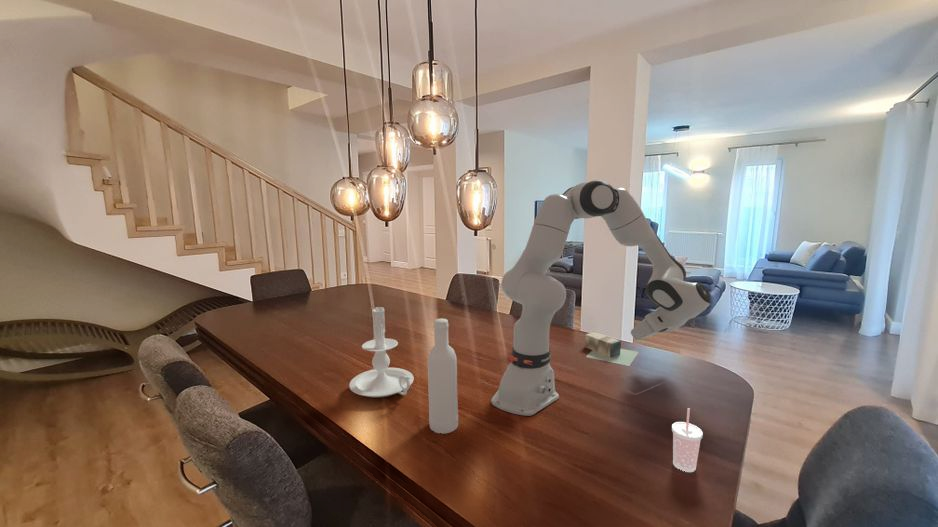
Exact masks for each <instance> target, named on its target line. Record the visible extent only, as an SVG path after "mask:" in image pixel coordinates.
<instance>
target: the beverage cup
mask: <svg viewBox="0 0 938 527" xmlns="http://www.w3.org/2000/svg"><path fill="white" fill-rule="evenodd" d="M690 413H691V408H689V407H688V408H687V412H686V422H685V421H675V422H674V423H672V424H671V431H672V465H673V466H674V467H675V468H676V469H678V470H679V469H680V471H681V470H682V472H684V471H685V473H693V472H695V471H696V468H697V464H698V459H699V451H700V448H701V447H700V446H701V440H702V439H703V436H704V435H703V434H704V433H703V431H702V429H701V428H700V427H698V426H697V425H695V424H692V423H690Z"/></svg>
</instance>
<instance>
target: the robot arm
mask: <svg viewBox="0 0 938 527" xmlns="http://www.w3.org/2000/svg"><path fill="white" fill-rule="evenodd" d="M596 217H601V218H602V219H603V220H604V221H605V223H606V225H607V227H608V229H609V231H610V232H611V234H612V236H613V237H614V239H615V240H616V241H617V242H618V243H619V244H620V245H621V246H625V247H636V246H637V247H639V248H640V249H642V251H643V252H644V254H645V255H646V257H647V258H648V260H649V261H650V263H651V265H652V273H651V276H650V278H649V280H648V281H647V282H648V283H647V284H646V287H645V294H646V296H647V297H648V299H649V300H650V301H651V302H653V303H654V304H655V305H657V306H659V307H657V308H656V309H654V311H651V312H650V313H648V314H646V315H645V316H644V319H643V320H641V321H640V322H639V323H638V324H636V325H635V326H634V327H633V328H632V329H631V330H630V334H631V336H632V337H633V340H635V341H641V340H644V339H646V338H648V337H651V336H654V335H657V334H659V333H660V334H661V333H663V332H670V333H673V332H675V331H676V330H678V329H679V328H681V327H683V326H684V325H685V324H686V323H687V322H688V321H689V320H692V319H694V318H696V317H697V316H699V315H700V314H701V313H703V312H704V311H705V310H706V309H707V308H708V307H709V306H710V305H711V303H712V296H711V294H710V291H709V290H708V289H707V287H706V286H705V285H704V284H702V283H701V282H690V281H686V277H687V272H686V268H685V267H684V266H683V265H682V264H681V263H680V262H679V261H678V260H676V259H675V258H674V257H673V256H672V255H671V254H670V253H669V251H668V250H667V247H666V246H665V245H664V243H663V241H662V240H661V239H660V238H659V236H658V235H657V233H656V231H655V230H654V229H653V228H652V226H651V225H650V223H649V221H648V220H647V218H646V215H645V214H644V212H643V211H642V209H641V207H640V205H639V204H638V202H637V201H636V200H635V198H634V197H633V196H632V195H631V193H630V192H629V191H628V190H627V189H625V188H624V187H613V186H612V185H611V184H610V183H608V182H606V181H604V180H591V181H588V182H581V183H579V184H576V185H574V186H572V187H569V188H568V189H566V191H564V192H563V193H562V194H559V193H557V194H555V193H554V194H550V195H548V196H546V197H545V198H544V200H543V201H542V204H541V206H540V208H539V209H538V212H537V214H536V217H535V219H534V222H533V225H532V228H531V231H530V234H529V237H528V240H527V243H526V246H525V248H524V249H523V252H522V254H521V255H520V257H519V258H518V259H517V262H516V263H515V264H514V266H513V267H512V268H510V270H508V271H506V272H505V274H504V275H503V276H502V279H501V284H500V285H501V286H500V287H501V289H502V292H503V294H505V296H507V297H508V298H509V299H510V300H511V301H513V302H516V303H518V304H521V307H522V311H521V315H520V318H519V319H518V320H516V321H515V323H514V325H513V347H512V349H511V353H510V354H507V356H506V361H507V362H509V365H507V368H506V370H505V372H504V374H503V376H502V378H501V380H500V382H499V387H498V390H497V391H496V393H495V394H494V395H493V396H492V397H491V399H490V400H491V401H490V403H491V404H492V406H494V407H496V408H497V409H500V410H502V411H505V412H507V413H510V414H514V415H518V416H519V415H520V416H527V417H528V416H530V417H531V416H533V415H535V414H536V413H538V412H539V411H541V410H543V409H544V408H546V407H548V406H550V405H551V404H552V403H554V402H555V401H557V400H559V398H560V395H559V393H558V392H557V391H556V386H555V372H554V370H553V368H552V366H551V364H550V362H551V349H550V329H551V323H552V320H553V318H554V315H555V314H556V313H557V312H558V311H560V309H562V308H563V306H564V304H565V302H566V298H567V291H566V288H565V287H566V286H565V285H564V284H563V283H562V282H561V281H559V280H558V279H556V278H554V277H553V276H551V275H548V274H546V273H547V272H548V270H549V269H550V268H551V267H552V265H553V264H555V263H557V262H558V261H559V260H560V259H561V258H562V254H563V252H564V248H565V245H566V242H567V239H568V236H569V234H570V229H571V225H572V223H574V220H576V219H578V220H579V219H591V218H596Z"/></svg>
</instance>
